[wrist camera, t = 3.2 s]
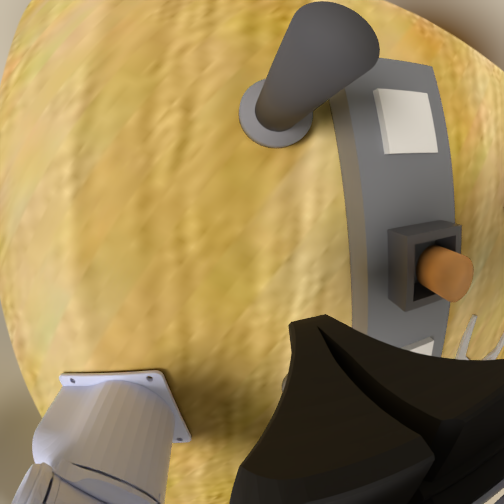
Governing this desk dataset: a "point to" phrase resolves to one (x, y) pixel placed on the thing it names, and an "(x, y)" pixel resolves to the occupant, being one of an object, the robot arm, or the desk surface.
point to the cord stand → (307, 72)
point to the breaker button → (445, 272)
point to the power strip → (396, 200)
